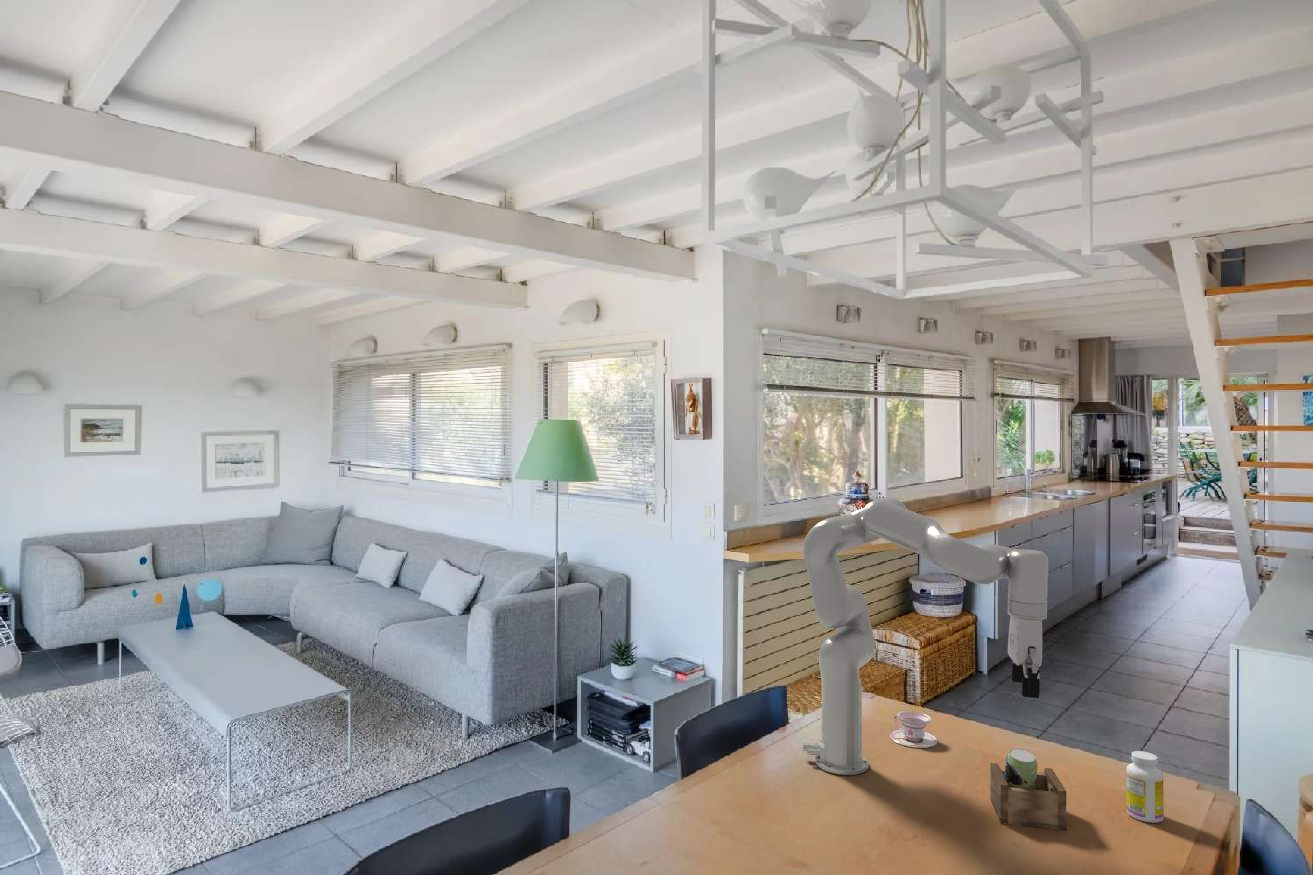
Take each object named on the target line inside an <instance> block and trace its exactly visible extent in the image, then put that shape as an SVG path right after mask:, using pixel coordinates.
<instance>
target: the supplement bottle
mask: <svg viewBox="0 0 1313 875" xmlns="http://www.w3.org/2000/svg"><path fill="white" fill-rule="evenodd" d="M1130 756H1131V757H1130V758H1131V761H1132V762H1130V763H1129V764H1128V765H1127V766H1126V770H1125V774H1126V775H1125V777H1126V778H1125V781H1126V785H1125V786H1126V787H1125V790H1126V791H1125V792H1126V797H1125V799H1126V802H1125V803H1126V804H1125V805H1126V812H1127V813H1128V814H1127V815H1129V816H1130V817H1131V818H1133V819H1135V820H1138V821H1141V822H1145V823H1150V824H1152V823H1153V824H1154V823H1155V824H1157V823H1161V822H1162V821H1163V820H1164V818H1165V817H1164V816H1165V815H1164V814H1165V813H1164V812H1165V810H1164V808H1165V807H1164V806H1165V805H1164V804H1165V803H1164V802H1165V800H1164V798H1165V797H1164V796H1165V794H1164V791H1165V790H1164V774H1163V771H1162V770H1161V769H1159V767H1157V766H1158V764H1159V760H1158V759H1159V758H1158V756H1157V755H1155V754H1154V753H1151V752H1147V751H1142V750H1135V751H1132V752H1131V755H1130Z"/></svg>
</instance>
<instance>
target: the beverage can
mask: <svg viewBox="0 0 1313 875" xmlns="http://www.w3.org/2000/svg"><path fill="white" fill-rule="evenodd" d="M1038 766H1039V765H1038V761H1037V759H1036V757H1035V755H1034V754H1033V753H1032V752H1031V751H1029V750H1026V749H1022V748H1012V749H1010V751H1009V752H1008V754H1007V755H1006V756H1005V766H1004V767H1005V768H1004V769H1005V779H1006V781H1007V784H1008V787H1012V788H1022V789H1032V790H1035V789H1036V778H1037V772H1038V768H1039V767H1038Z"/></svg>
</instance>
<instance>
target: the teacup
mask: <svg viewBox="0 0 1313 875" xmlns="http://www.w3.org/2000/svg"><path fill="white" fill-rule="evenodd" d="M893 718H894V723H895V726H896V727H897V728H898V729H896V730H893V731H891V732H890V734H889V739H890V740H891V741H893V742H894V743H895V744H898V745H900V746H904V747H909V748H915V749H927V748H932V747H935V746H937V744H938V743H939V741H938V738H937V737H935V736H934V735H933V734H931V733H929V732H926V730H925V729H926V727H927V724H928V723H929V722H930V721H931V719H932V717H931V716H930V715H928V714H926V713H922V712H919V711H913V710H910V711H909V710H907V711H905V710H904V711H899V712H898V713H896V715H894V716H893ZM897 720H899V721H900V722H901V724H902V727H901V726H900V725H899V723H898V722H897ZM895 738H904V739H905V738H906V739H907V740H908V741H907V740H906V739H905V740H903V739H899V740H898V739H895ZM921 739H923V740H922V741H921ZM920 741H921V742H920ZM910 745H929V746H910Z"/></svg>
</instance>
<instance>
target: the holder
mask: <svg viewBox="0 0 1313 875" xmlns="http://www.w3.org/2000/svg"><path fill="white" fill-rule="evenodd" d="M989 770H990V773H989V774H990V776H989V777H990V780H989V781H990V783H989V784H990V786H989V787H990V788H989V789H990V790H989V796H990V798H989V799H990V800H989V801H990V802H991V805H992V807H993V810H994V812H995V813H996V816H997V819H998V822H999V823H1000V824H1002V823H1003V824H1004V823H1005V824H1004V825H1011V824H1012V825H1013V826H1020V825H1022V826H1021V827H1023V826H1024V827H1031V828H1040V829H1047V830H1048V829H1049V830H1057V831H1065V832H1066V831H1067V790H1066V787H1064V785H1063V784H1062V782H1061V780H1060V779H1059V777H1058V776H1057V774H1056V773H1055V771H1054V769H1053V768H1051V767H1050V768H1049V767H1044V769H1043V770H1044V771H1037V778H1036V789H1035V790H1032V789H1022V788H1012V787H1008V784H1007V781H1006V779H1005V768H1001V767H1000V765H999V764H998V763H997V762H990V769H989Z"/></svg>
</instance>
